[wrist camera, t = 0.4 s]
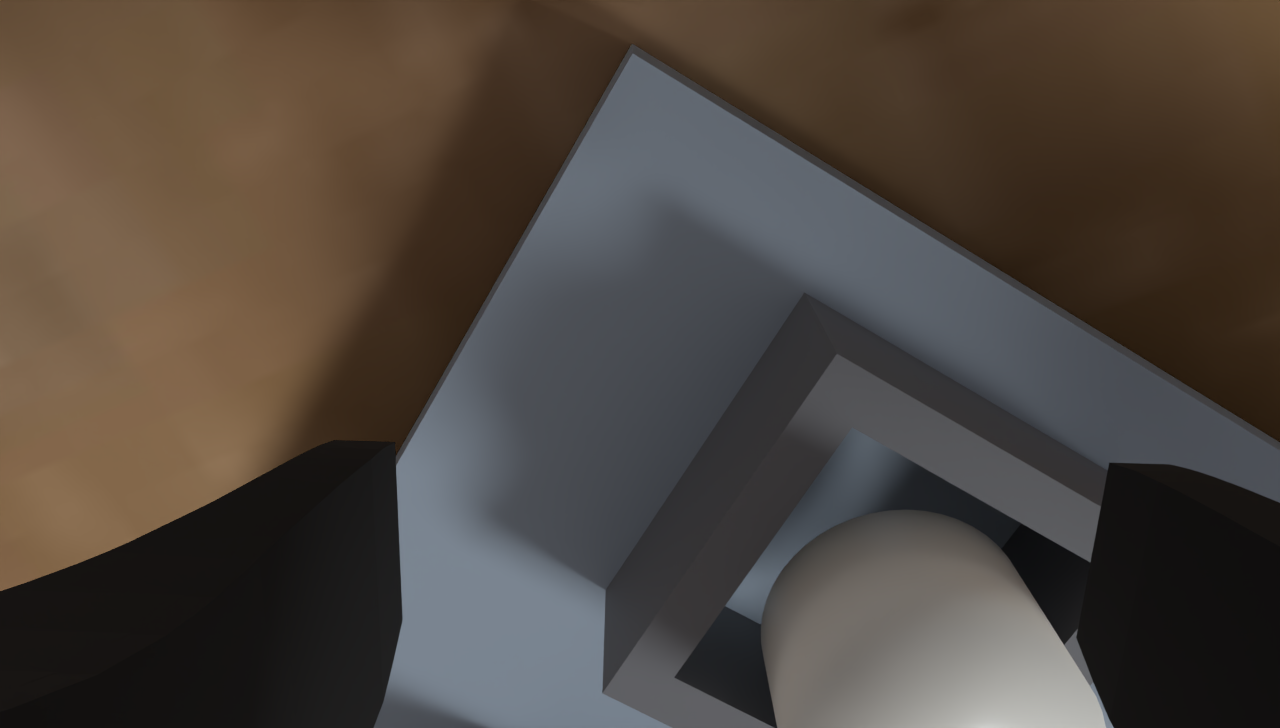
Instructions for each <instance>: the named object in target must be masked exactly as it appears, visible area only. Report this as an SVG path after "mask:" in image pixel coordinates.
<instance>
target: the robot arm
mask: <svg viewBox="0 0 1280 728" xmlns="http://www.w3.org/2000/svg"><path fill="white" fill-rule="evenodd" d="M402 621H403V616H402V593H401V570H400V546H399V523H398V500H397V477H396V453H395V442H376V441H341V440H334V441H331V442H328V443H325V444H322V445H320V446H317V447H315V448H313V449H311V450H309V451H307V452H305V453H303V454H301V455H299V456H297V457H295V458H293V459H291V460H289V461H287V462H286V463H284V464H282V465H280V466H278V467H276V468H274V469H273V470H271V471H269V472H267V473H265V474H263V475H262V476H260V477H258V478H256V479H254V480H252V481H250V482H249V483H247V484H245V485H243V486H241V487H239V488H237V489H236V490H234V491H232V492H230V493H228V494H226V495H224V496H222V497H221V498H219V499H217V500H215V501H213V502H211V503H209V504H207V505H205V506H203V507H201V508H199V509H197V510H195V511H193V512H191V513H189V514H187V515H185V516H183V517H181V518H178V519H176V520H174V521H172V522H170V523H168V524H166V525H164V526H162V527H160V528H158V529H156V530H154V531H151V532H149V533H147V534H145V535H143V536H141V537H139V538H137V539H135V540H133V541H131V542H129V543H126V544H124V545H122V546H119V547H117V548H115V549H112V550H110V551H108V552H105V553H103V554H101V555H98V556H96V557H93V558H91V559H88V560H86V561H83V562H81V563H78V564H76V565H73V566H70V567H67V568H65V569H62V570H59V571H57V572H54V573H51V574H49V575H46V576H43V577H40V578H38V579H35V580H32V581H30V582H27V583H24V584H21V585H18V586H15V587H12V588H9V589H6V590H3V591H0V728H374V726H375V723H376V720H377V718H378V715H379V712H380V710H381V707H382V704H383V702H384V698H385V694H386V690H387V685H388V681H389V677H390V673H391V669H392V665H393V661H394V656H395V652H396V647H397V643H398V638H399V634H400V629H401V625H402ZM1076 638H1077V641H1078V644H1079V646H1080V649H1081V651H1082V654H1083V657H1084V659H1085V662H1086V665H1087V667H1088V670H1089V672H1090V675H1091V678H1092V680H1093V683H1094V685H1095V687H1096V690H1097V692H1098V694H1099V697H1100V699H1101V701H1102V704H1103V706H1104V708H1105V711H1106V713H1107V715H1108V718H1109V720H1110V722H1111V723H1112V725H1113V727H1114V728H1280V503H1279V502H1277V501H1274V500H1272V499H1270V498H1267V497H1265V496H1262V495H1260V494H1257V493H1255V492H1253V491H1250V490H1247V489H1245V488H1242V487H1240V486H1237V485H1235V484H1232V483H1229V482H1227V481H1224V480H1221V479H1219V478H1216V477H1213V476H1210V475H1207V474H1204V473H1201V472H1198V471H1194V470H1191V469H1188V468H1183V467H1179V466H1175V465H1170V464H1141V463H1109V467H1108V472H1107V477H1106V482H1105V488H1104V493H1103V498H1102V504H1101V509H1100V514H1099V520H1098V525H1097V530H1096V535H1095V541H1094V546H1093V551H1092V557H1091V562H1090V567H1089V573H1088V578H1087V583H1086V588H1085V594H1084V599H1083V604H1082V610H1081V615H1080V620H1079V626H1078V631H1077V636H1076Z"/></svg>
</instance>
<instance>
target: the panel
mask: <svg viewBox="0 0 1280 728" xmlns="http://www.w3.org/2000/svg"><path fill="white" fill-rule="evenodd" d="M1109 463H1141V464H1170V465H1175V466H1179V467H1183V468H1188V469H1191V470H1194V471H1198V472H1201V473H1204V474H1207V475H1210V476H1213V477H1216V478H1219V479H1221V480H1224V481H1227V482H1229V483H1232V484H1235V485H1237V486H1240V487H1242V488H1245V489H1247V490H1250V491H1253V492H1255V493H1257V494H1260V495H1262V496H1265V497H1267V498H1270V499H1272V500H1274V501H1277V502H1279V503H1280V442H1278V441H1277V440H1275V439H1273V438H1272V437H1270V436H1268V435H1267V434H1265V433H1264V432H1262V431H1260V430H1259V429H1257V428H1255V427H1254V426H1252V425H1251V424H1249V423H1247V422H1246V421H1244V420H1242V419H1241V418H1239V417H1238V416H1236V415H1234V414H1233V413H1231V412H1229V411H1228V410H1226V409H1225V408H1223V407H1221V406H1220V405H1218V404H1217V403H1215V402H1213V401H1212V400H1210V399H1208V398H1207V397H1205V396H1204V395H1202V394H1200V393H1199V392H1197V391H1195V390H1194V389H1192V388H1191V387H1189V386H1187V385H1186V384H1184V383H1182V382H1181V381H1179V380H1178V379H1176V378H1174V377H1173V376H1171V375H1169V374H1168V373H1166V372H1165V371H1163V370H1161V369H1160V368H1158V367H1156V366H1155V365H1153V364H1152V363H1150V362H1148V361H1147V360H1145V359H1143V358H1142V357H1140V356H1139V355H1137V354H1135V353H1134V352H1132V351H1130V350H1129V349H1127V348H1126V347H1124V346H1122V345H1121V344H1119V343H1117V342H1116V341H1114V340H1113V339H1111V338H1109V337H1108V336H1106V335H1104V334H1103V333H1101V332H1100V331H1098V330H1096V329H1095V328H1093V327H1091V326H1090V325H1088V324H1087V323H1085V322H1083V321H1082V320H1080V319H1078V318H1077V317H1075V316H1074V315H1072V314H1070V313H1069V312H1067V311H1065V310H1064V309H1062V308H1061V307H1059V306H1057V305H1056V304H1054V303H1052V302H1051V301H1049V300H1048V299H1046V298H1044V297H1043V296H1041V295H1039V294H1038V293H1036V292H1035V291H1033V290H1031V289H1030V288H1028V287H1026V286H1025V285H1023V284H1022V283H1020V282H1018V281H1017V280H1015V279H1013V278H1012V277H1010V276H1009V275H1007V274H1005V273H1004V272H1002V271H1000V270H999V269H997V268H996V267H994V266H992V265H991V264H989V263H988V262H986V261H984V260H983V259H981V258H979V257H978V256H976V255H975V254H973V253H971V252H970V251H968V250H966V249H965V248H963V247H962V246H960V245H958V244H957V243H955V242H953V241H952V240H950V239H949V238H947V237H945V236H944V235H942V234H940V233H939V232H937V231H936V230H934V229H932V228H931V227H929V226H927V225H926V224H924V223H923V222H921V221H919V220H918V219H916V218H914V217H913V216H911V215H910V214H908V213H906V212H905V211H903V210H901V209H900V208H898V207H897V206H895V205H893V204H892V203H890V202H888V201H887V200H885V199H884V198H882V197H880V196H879V195H877V194H875V193H874V192H872V191H871V190H869V189H867V188H866V187H864V186H862V185H861V184H859V183H858V182H856V181H854V180H853V179H851V178H849V177H848V176H846V175H845V174H843V173H841V172H840V171H838V170H836V169H835V168H833V167H832V166H830V165H828V164H827V163H825V162H823V161H822V160H820V159H819V158H817V157H815V156H814V155H812V154H810V153H809V152H807V151H806V150H804V149H802V148H801V147H799V146H797V145H796V144H794V143H793V142H791V141H789V140H788V139H786V138H784V137H783V136H781V135H780V134H778V133H776V132H775V131H773V130H771V129H770V128H768V127H767V126H765V125H763V124H762V123H760V122H759V121H757V120H755V119H754V118H752V117H750V116H749V115H747V114H746V113H744V112H742V111H741V110H739V109H737V108H736V107H734V106H733V105H731V104H729V103H728V102H726V101H724V100H723V99H721V98H720V97H718V96H716V95H715V94H713V93H711V92H710V91H708V90H707V89H705V88H703V87H702V86H700V85H698V84H697V83H695V82H694V81H692V80H690V79H689V78H687V77H685V76H684V75H682V74H681V73H679V72H677V71H676V70H674V69H672V68H671V67H669V66H668V65H666V64H664V63H663V62H661V61H659V60H658V59H656V58H655V57H653V56H651V55H650V54H648V53H646V52H645V51H643V50H642V49H640V48H638V47H637V46H635V45H633V44H631V46H630V48H629V50H628V51H627V53H626V55H625V57H624V58H623V60H622V62H621V64H620V65H619V67H618V69H617V71H616V72H615V74H614V76H613V78H612V79H611V81H610V83H609V85H608V86H607V88H606V90H605V92H604V93H603V95H602V97H601V99H600V100H599V102H598V104H597V106H596V107H595V109H594V111H593V113H592V114H591V116H590V118H589V120H588V121H587V123H586V125H585V127H584V128H583V130H582V132H581V134H580V135H579V137H578V139H577V141H576V142H575V144H574V146H573V148H572V149H571V151H570V153H569V155H568V156H567V158H566V160H565V162H564V163H563V165H562V167H561V169H560V170H559V172H558V174H557V176H556V177H555V179H554V181H553V183H552V184H551V186H550V188H549V190H548V191H547V193H546V195H545V197H544V198H543V200H542V202H541V204H540V205H539V207H538V209H537V210H536V212H535V214H534V216H533V217H532V219H531V221H530V223H529V224H528V226H527V228H526V230H525V231H524V233H523V235H522V237H521V238H520V240H519V242H518V244H517V245H516V247H515V249H514V251H513V252H512V254H511V256H510V258H509V259H508V261H507V263H506V265H505V266H504V268H503V270H502V272H501V273H500V275H499V277H498V279H497V280H496V282H495V284H494V286H493V287H492V289H491V291H490V293H489V294H488V296H487V298H486V300H485V301H484V303H483V305H482V307H481V308H480V310H479V312H478V314H477V315H476V317H475V319H474V321H473V322H472V324H471V326H470V328H469V329H468V331H467V333H466V335H465V336H464V338H463V340H462V342H461V343H460V345H459V347H458V349H457V350H456V352H455V354H454V356H453V357H452V359H451V361H450V363H449V364H448V366H447V368H446V370H445V371H444V373H443V375H442V377H441V378H440V380H439V382H438V384H437V385H436V387H435V389H434V391H433V392H432V394H431V396H430V398H429V399H428V401H427V403H426V405H425V406H424V408H423V410H422V412H421V413H420V415H419V417H418V419H417V420H416V422H415V424H414V426H413V427H412V429H411V431H410V433H409V434H408V436H407V438H406V439H405V441H404V443H403V445H402V446H401V448H400V450H399V452H398V453H397V455H396V477H397V500H398V523H399V546H400V570H401V593H402V616H403V621H402V625H401V629H400V634H399V638H398V643H397V647H396V652H395V656H394V661H393V665H392V669H391V673H390V677H389V681H388V685H387V690H386V694H385V698H384V702H383V704H382V707H381V710H380V712H379V715H378V718H377V720H376V723H375V726H374V728H777V724H776V719H775V714H774V709H773V703H772V698H771V693H770V688H769V683H768V678H767V673H766V668H765V663H764V658H763V652H762V646H761V623H762V615H763V611H764V607H765V604H766V600H767V597H768V595H769V593H770V591H771V588H772V586H773V584H774V582H775V581H776V579H777V577H778V576H779V574H780V573H781V571H782V570H783V568H784V567H785V566H786V565H787V564H788V562H789V561H790V560H791V559H792V557H793V556H794V555H795V554H797V553H798V552H799V551H800V550H801V549H802V548H803V547H804V546H805V545H806V544H808V543H809V542H810V541H812V540H813V539H814V538H816V537H817V536H819V535H820V534H822V533H823V532H825V531H827V530H829V529H831V528H832V527H834V526H836V525H838V524H841V523H843V522H846V521H848V520H850V519H853V518H856V517H860V516H863V515H867V514H870V513H876V512H882V511H888V510H920V511H928V512H933V513H938V514H943V515H946V516H949V517H952V518H955V519H958V520H960V521H962V522H964V523H966V524H969V525H971V526H973V527H974V528H976V529H977V530H979V531H980V532H982V533H983V534H985V535H987V536H988V537H989V538H990V539H991V540H992V541H993V542H994V543H996V544H997V545H998V546H999V547H1000V548H1001V550H1002V551H1003V552H1004V553H1005V554H1006V555H1007V557H1008V558H1009V559H1010V561H1011V563H1012V564H1013V566H1014V567H1015V569H1016V570H1017V572H1018V574H1019V575H1020V577H1021V578H1022V580H1023V581H1024V583H1025V585H1026V586H1027V588H1028V589H1029V591H1030V592H1031V594H1032V596H1033V597H1034V599H1035V600H1036V602H1037V603H1038V605H1039V607H1040V608H1041V610H1042V611H1043V613H1044V614H1045V616H1046V618H1047V619H1048V621H1049V622H1050V624H1051V625H1052V627H1053V629H1054V630H1055V632H1056V633H1057V635H1058V636H1059V638H1060V640H1061V641H1062V643H1063V644H1064V646H1065V647H1066V649H1067V651H1068V652H1069V654H1070V655H1071V657H1072V658H1073V660H1074V662H1075V663H1076V665H1077V666H1078V668H1079V670H1080V671H1081V673H1082V674H1083V676H1084V677H1085V679H1086V681H1087V682H1088V684H1089V685H1090V687H1091V689H1092V690H1093V692H1094V694H1095V695H1096V697H1097V700H1098V702H1099V705H1100V707H1101V710H1102V712H1103V717H1104V721H1105V726H1106V728H1114V727H1113V725H1112V723H1111V722H1110V720H1109V718H1108V715H1107V713H1106V711H1105V708H1104V706H1103V704H1102V701H1101V699H1100V697H1099V694H1098V692H1097V690H1096V687H1095V685H1094V683H1093V680H1092V678H1091V675H1090V672H1089V670H1088V667H1087V665H1086V662H1085V659H1084V657H1083V654H1082V651H1081V649H1080V646H1079V644H1078V641H1077V638H1076V636H1077V631H1078V626H1079V620H1080V615H1081V610H1082V604H1083V599H1084V594H1085V588H1086V583H1087V578H1088V573H1089V567H1090V562H1091V557H1092V551H1093V546H1094V541H1095V535H1096V530H1097V525H1098V520H1099V514H1100V509H1101V504H1102V498H1103V493H1104V488H1105V482H1106V477H1107V472H1108V467H1109Z"/></svg>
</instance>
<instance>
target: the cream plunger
mask: <svg viewBox="0 0 1280 728" xmlns="http://www.w3.org/2000/svg"><path fill="white" fill-rule="evenodd" d="M761 646H762V652H763V658H764V663H765V668H766V673H767V678H768V683H769V688H770V693H771V698H772V703H773V709H774V714H775V719H776V724H777V728H1106V726H1105V721H1104V717H1103V712H1102V710H1101V707H1100V705H1099V702H1098V700H1097V697H1096V695H1095V694H1094V692H1093V690H1092V689H1091V687H1090V685H1089V684H1088V682H1087V681H1086V679H1085V677H1084V676H1083V674H1082V673H1081V671H1080V670H1079V668H1078V666H1077V665H1076V663H1075V662H1074V660H1073V658H1072V657H1071V655H1070V654H1069V652H1068V651H1067V649H1066V647H1065V646H1064V644H1063V643H1062V641H1061V640H1060V638H1059V636H1058V635H1057V633H1056V632H1055V630H1054V629H1053V627H1052V625H1051V624H1050V622H1049V621H1048V619H1047V618H1046V616H1045V614H1044V613H1043V611H1042V610H1041V608H1040V607H1039V605H1038V603H1037V602H1036V600H1035V599H1034V597H1033V596H1032V594H1031V592H1030V591H1029V589H1028V588H1027V586H1026V585H1025V583H1024V581H1023V580H1022V578H1021V577H1020V575H1019V574H1018V572H1017V570H1016V569H1015V567H1014V566H1013V564H1012V563H1011V561H1010V559H1009V558H1008V557H1007V555H1006V554H1005V553H1004V552H1003V551H1002V550H1001V548H1000V547H999V546H998V545H997V544H996V543H994V542H993V541H992V540H991V539H990V538H989V537H988V536H987V535H985V534H983V533H982V532H980V531H979V530H977V529H976V528H974V527H973V526H971V525H969V524H966V523H964V522H962V521H960V520H958V519H955V518H952V517H949V516H946V515H943V514H938V513H933V512H928V511H920V510H888V511H882V512H876V513H870V514H867V515H863V516H860V517H856V518H853V519H850V520H848V521H846V522H843V523H841V524H838V525H836V526H834V527H832V528H831V529H829V530H827V531H825V532H823V533H822V534H820V535H819V536H817V537H816V538H814V539H813V540H812V541H810V542H809V543H808V544H806V545H805V546H804V547H803V548H802V549H801V550H800V551H799V552H798V553H797V554H795V555H794V556H793V557H792V559H791V560H790V561H789V562H788V564H787V565H786V566H785V567H784V568H783V570H782V571H781V573H780V574H779V576H778V577H777V579H776V581H775V582H774V584H773V586H772V588H771V591H770V593H769V595H768V597H767V600H766V604H765V607H764V611H763V615H762V623H761Z"/></svg>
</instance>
